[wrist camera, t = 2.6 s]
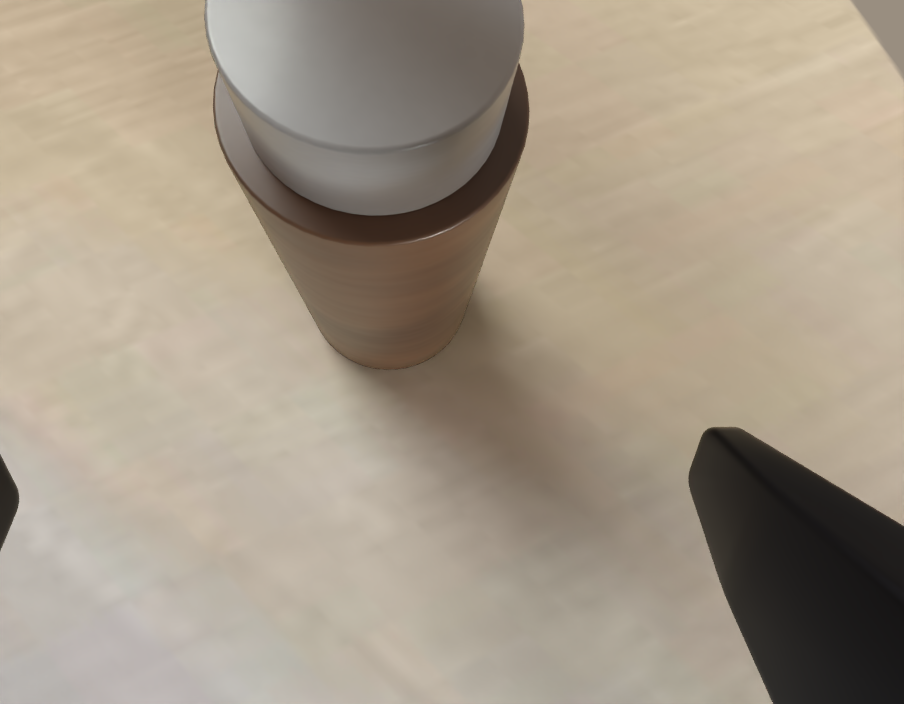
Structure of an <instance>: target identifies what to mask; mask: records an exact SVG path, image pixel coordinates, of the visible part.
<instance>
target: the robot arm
mask: <svg viewBox="0 0 904 704" xmlns="http://www.w3.org/2000/svg"><path fill="white" fill-rule="evenodd" d="M689 488H690V492H691V495H692V498H693V501H694V504H695V507H696V510H697V513H698V516H699V519H700V522H701V525H702V528H703V531H704V534H705V538H706V541H707V544H708V547H709V550H710V553H711V556H712V559H713V562H714V565H715V568H716V571H717V574H718V577H719V580H720V583H721V585H722V588H723V591H724V594H725V596H726V599H727V601H728V603H729V606H730V608H731V610H732V613H733V615H734V617H735V619H736V622H737V624H738V626H739V628H740V631H741V633H742V635H743V637H744V640H745V642H746V644H747V646H748V649H749V651H750V653H751V655H752V657H753V660H754V662H755V664H756V666H757V669H758V671H759V673H760V675H761V678H762V680H763V682H764V684H765V687H766V689H767V691H768V693H769V696H770V698H771V700H772V702H773V704H904V526H903V525H901V524H899V523H898V522H896V521H894V520H893V519H891V518H889V517H888V516H886V515H884V514H883V513H881V512H879V511H878V510H876V509H874V508H873V507H871V506H869V505H868V504H866V503H864V502H863V501H861V500H859V499H858V498H856V497H854V496H853V495H851V494H849V493H848V492H846V491H844V490H843V489H841V488H839V487H838V486H836V485H834V484H833V483H831V482H829V481H828V480H826V479H824V478H823V477H821V476H819V475H818V474H816V473H814V472H813V471H811V470H809V469H808V468H806V467H804V466H803V465H801V464H799V463H798V462H796V461H794V460H793V459H791V458H789V457H788V456H786V455H784V454H783V453H781V452H779V451H778V450H776V449H774V448H773V447H771V446H769V445H768V444H766V443H764V442H763V441H761V440H759V439H758V438H756V437H754V436H753V435H751V434H749V433H748V432H746V431H744V430H742V429H741V428H737V427H712V428H709V429H707V430H706V431H705V432H704V433H703V435H702V437H701V440H700V442H699V445H698V448H697V451H696V454H695V457H694V459H693V462H692V465H691V468H690V471H689ZM18 504H19V493H18V489H17V486H16V484H15V482H14V480H13V478H12V477H11V475H10V473H9V471H8V469H7V467H6V465H5V463H4V461H3V459H2V457H1V455H0V550H1V548H2V546H3V543H4V541H5V538H6V536H7V534H8V531H9V529H10V526H11V524H12V521H13V519H14V517H15V514H16V512H17V509H18Z"/></svg>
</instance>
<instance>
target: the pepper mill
mask: <svg viewBox="0 0 904 704" xmlns="http://www.w3.org/2000/svg"><path fill="white" fill-rule="evenodd" d="M204 20H205V29H206V37H207V41H208V44H209V48H210V52H211V55H212V57H213V60H214V62H215V64H216V66H217V69H218V72H217V77H216V82H215V87H214V98H213V113H214V122H215V129H216V133H217V136H218V140H219V144H220V147H221V149H222V152H223V154H224V156H225V159H226V161H227V163H228V165H229V167H230V169H231V170H232V172H233V174H234V176H235V178H236V179H237V181H238V183H239V185H240V187H241V188H242V190H243V192H244V194H245V196H246V198H247V199H248V201H249V203H250V205H251V207H252V208H253V210H254V212H255V214H256V216H257V217H258V219H259V221H260V223H261V225H262V226H263V228H264V230H265V232H266V234H267V235H268V237H269V239H270V241H271V243H272V245H273V246H274V248H275V250H276V252H277V254H278V255H279V257H280V259H281V261H282V263H283V264H284V266H285V268H286V270H287V272H288V273H289V275H290V277H291V279H292V281H293V282H294V284H295V286H296V288H297V290H298V292H299V293H300V295H301V297H302V299H303V301H304V302H305V304H306V306H307V308H308V310H309V311H310V313H311V315H312V317H313V319H314V320H315V322H316V324H317V326H318V328H319V329H320V331H321V333H322V334H323V336H324V337H325V339H326V340H327V341H328V342H329V343H330V345H331V346H332V347H334V348H335V349H336V350H337V351H338V352H339V353H341V354H342V355H343V356H345V357H346V358H348V359H350V360H352V361H354V362H356V363H358V364H361V365H364V366H367V367H371V368H376V369H386V370H388V369H401V368H407V367H411V366H414V365H417V364H420V363H422V362H424V361H426V360H428V359H430V358H431V357H433V356H435V355H436V354H437V353H439V352H440V351H441V350H442V349H443V348H444V347H445V346H446V345H447V344H448V343H449V342H450V341H451V339H452V338H453V337H454V335H455V334H456V332H457V330H458V329H459V327H460V325H461V322H462V319H463V317H464V314H465V311H466V308H467V306H468V303H469V300H470V297H471V294H472V292H473V289H474V286H475V283H476V280H477V278H478V275H479V272H480V269H481V267H482V264H483V261H484V258H485V255H486V253H487V250H488V247H489V244H490V241H491V239H492V236H493V233H494V230H495V228H496V225H497V222H498V219H499V216H500V214H501V211H502V208H503V205H504V202H505V200H506V197H507V194H508V191H509V188H510V186H511V183H512V180H513V177H514V175H515V172H516V169H517V166H518V163H519V161H520V158H521V155H522V152H523V149H524V147H525V142H526V137H527V133H528V126H529V101H528V92H527V87H526V83H525V79H524V75H523V72H522V70H521V67H520V64H519V59H520V55H521V50H522V46H523V39H524V15H523V6H522V2H521V0H205V15H204Z"/></svg>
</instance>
